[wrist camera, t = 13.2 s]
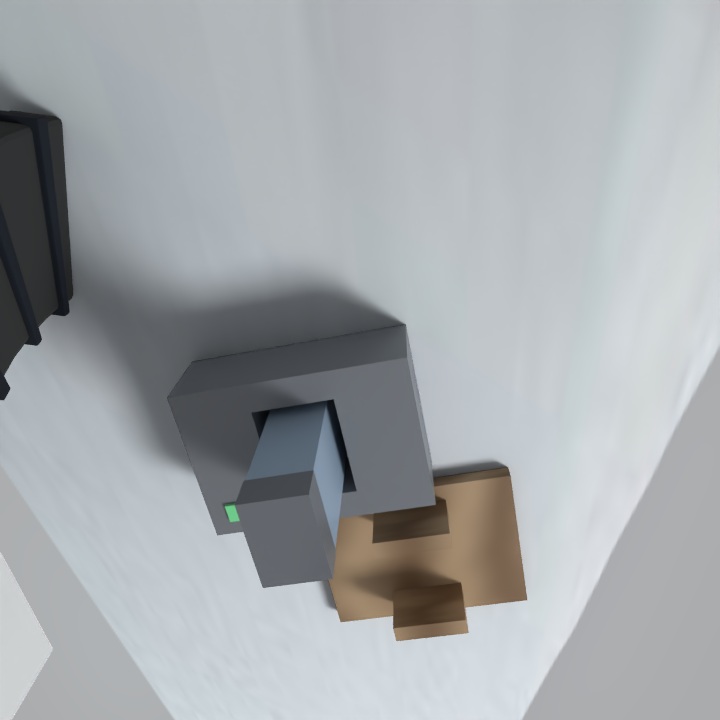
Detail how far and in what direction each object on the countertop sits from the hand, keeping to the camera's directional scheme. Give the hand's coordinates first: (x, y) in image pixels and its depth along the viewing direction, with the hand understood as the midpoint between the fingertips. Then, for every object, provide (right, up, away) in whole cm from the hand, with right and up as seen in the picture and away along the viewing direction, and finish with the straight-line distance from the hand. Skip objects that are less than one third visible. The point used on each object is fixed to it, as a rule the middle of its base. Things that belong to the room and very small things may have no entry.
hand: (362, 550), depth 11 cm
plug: (-3, -1, +31) cm, 31 cm away
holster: (+4, -10, +36) cm, 37 cm away
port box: (-3, 0, +32) cm, 32 cm away
